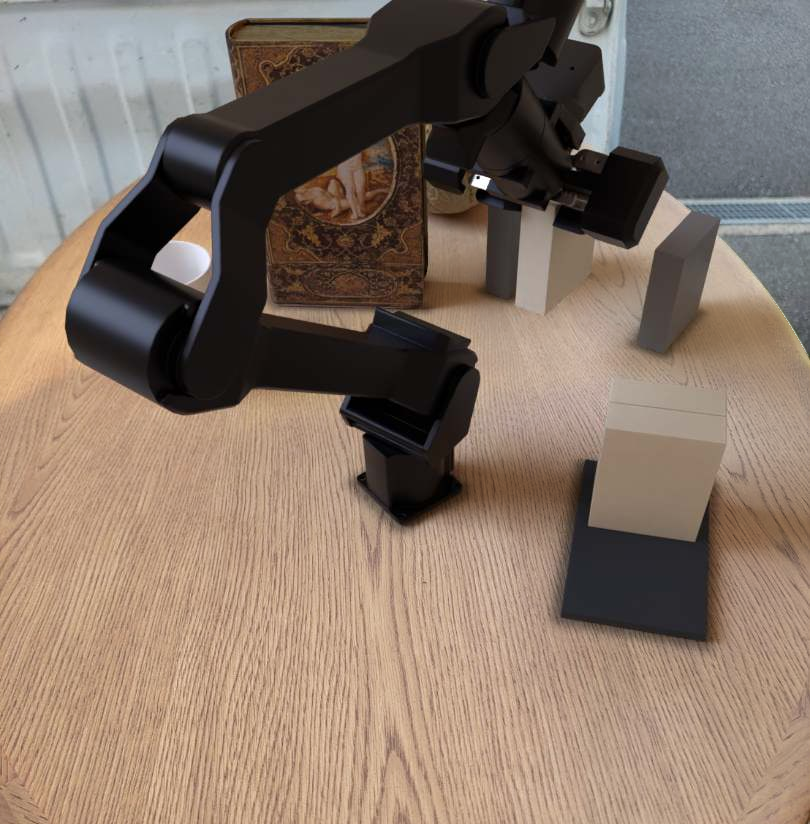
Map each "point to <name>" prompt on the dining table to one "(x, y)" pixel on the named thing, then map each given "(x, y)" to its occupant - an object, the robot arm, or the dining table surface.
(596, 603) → the book mat
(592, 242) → the cream book
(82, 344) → the robot arm
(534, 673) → the dining table surface
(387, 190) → the book
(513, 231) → the grey books
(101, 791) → the dining table surface
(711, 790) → the dining table surface
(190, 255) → the mug
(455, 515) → the dining table surface
